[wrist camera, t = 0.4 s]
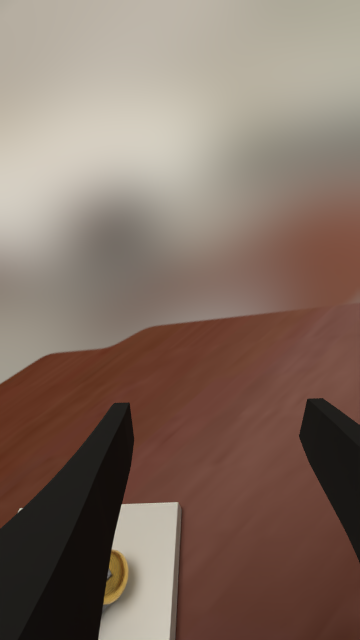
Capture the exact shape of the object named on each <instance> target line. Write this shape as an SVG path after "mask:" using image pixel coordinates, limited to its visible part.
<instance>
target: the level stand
mask: <svg viewBox="0 0 360 640" xmlns="http://www.w3.org/2000/svg"><path fill="white" fill-rule="evenodd" d="M21 509H23V508H20V509H19V511H20V510H21ZM19 511H18V512H19ZM181 512H182V509H181V507H180V505H179V503H178V502H173V503H147V504H122V505H121V510H120V514H119V518H118V522H117V526H116V530H115V535H114V540H113V545H112V550H117V551H119V552H121V553H122V554H123V555H124V557H125V558H126V560H127V563H128V570H129V575H128V581H127V584H126V587H125V589H124V591H123V593H122V594H121V596H120V597H119V598H118V599H117V600H116V601H114V602H113V603H111V604H110V605H109V606H108V607H107V609H106V610H105V611H104V612H103V613H102V616H101V623H100V630H99V637H98V640H175V634H176V614H177V593H178V573H179V553H180V533H181Z"/></svg>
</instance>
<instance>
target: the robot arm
mask: <svg viewBox="0 0 360 640" xmlns="http://www.w3.org/2000/svg"><path fill="white" fill-rule="evenodd" d="M299 437H300V440H301V443H302V445H303V448H304V451H305V453H306V456H307V458H308V461H309V463H310V465H311V467H312V469H313V471H314V473H315V475H316V476H317V478H318V480H319V482H320V484H321V486H322V488H323V490H324V492H325V493H326V495H327V497H328V499H329V501H330V503H331V505H332V506H333V508H334V510H335V512H336V514H337V516H338V518H339V520H340V521H341V523H342V525H343V527H344V529H345V531H346V533H347V535H348V537H349V539H350V541H351V544H352V546H353V548H354V551H355V553H356V555H357V557H358V560H359V562H360V425H359V424H357V423H356V422H355V421H353V420H352V419H351V418H349V417H348V416H347V415H345V414H344V413H342V412H341V411H340V410H338V409H337V408H336V407H334V406H333V405H331V404H330V403H329V402H327V401H326V400H324V399H323V398H319V399H307V403H306V408H305V412H304V416H303V421H302V425H301V430H300V434H299ZM133 445H134V435H133V427H132V419H131V411H130V403H114V404H113V405H112V406H111V407H110V409H109V410H108V412H107V413H106V415H105V416H104V417H103V419H102V420H101V421H100V423H99V424H98V425H97V427H96V428H95V429H94V431H93V432H92V433H91V435H90V436H89V437H88V438H87V440H86V441H85V442H84V443H83V445H82V446H81V447H80V448H79V449H78V451H77V452H76V453H75V454H74V455H73V456H72V458H71V459H70V460H69V461H68V462H67V463H66V465H65V466H64V467H63V468H62V469H61V470H60V471H59V472H58V473H57V475H56V476H55V477H54V478H53V479H52V480H51V481H50V482H49V483H48V484H47V485H46V486H45V487H44V488H43V489H42V490H41V491H40V492H39V493H38V494H37V495H36V496H35V497H34V498H33V499H32V500H31V501H30V502H29V503H28V504H27V505H26V506H25V507H24V508H23V509H21V510H20V511H19V512H18V513H17V514H16V515H15V516H14V517H13V518H12V519H11V520H10V521H9V522H7V523H6V524H5V525H4V526H3V527H2V528H1V529H0V640H98V637H99V630H100V623H101V616H102V609H103V603H104V596H105V589H106V582H107V576H108V570H109V563H110V557H111V551H112V545H113V540H114V535H115V530H116V526H117V522H118V518H119V514H120V510H121V505H122V501H123V497H124V493H125V489H126V484H127V480H128V476H129V472H130V467H131V461H132V453H133Z"/></svg>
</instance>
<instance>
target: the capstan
mask: <svg viewBox="0 0 360 640" xmlns="http://www.w3.org/2000/svg"><path fill="white" fill-rule="evenodd" d="M128 575H129V570H128V563H127V560H126V558H125V557H124V555H123V554H122V553H121V552H119V551H117V550H112V551H111V557H110V563H109V570H108V576H107V582H106V589H105V596H104V603H103V609H102V613H103V612H104V611H105V610H106V609H107V607H108V606H109V605H110V604H111V603H113V602H114V601H116V600H117V599H118V598H119V597H120V596H121V594H122V593H123V591H124V589H125V587H126V584H127V581H128Z"/></svg>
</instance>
